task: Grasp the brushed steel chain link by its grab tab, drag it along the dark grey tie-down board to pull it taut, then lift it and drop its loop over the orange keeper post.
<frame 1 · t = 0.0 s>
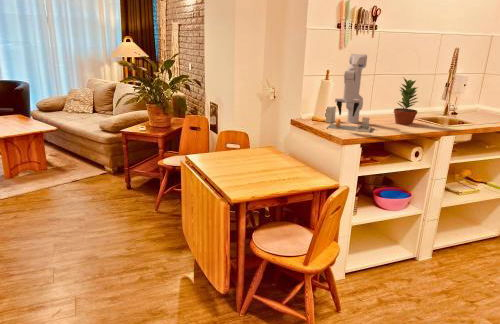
hand: (346, 115, 225), 10 cm above the countertop, tool pointing down, fingers open, 7 cm apart
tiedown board: (350, 129, 235), on the countertop
steel link: (363, 129, 232), point 1 cm above the countertop, touching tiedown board
potted plant: (404, 123, 256), on the countertop
small box: (327, 121, 257), on the countertop
keeper post: (337, 128, 238), resting on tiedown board
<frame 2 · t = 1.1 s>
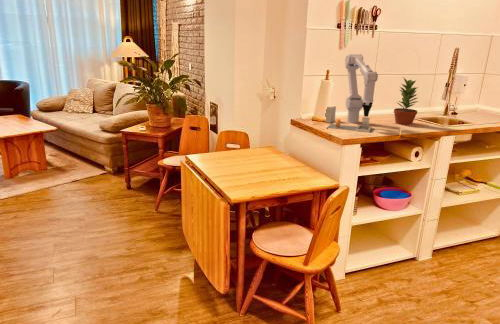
hand: (366, 115, 234), 9 cm above the countertop, tool pointing down, fingers open, 7 cm apart
nothing on the countertop moved.
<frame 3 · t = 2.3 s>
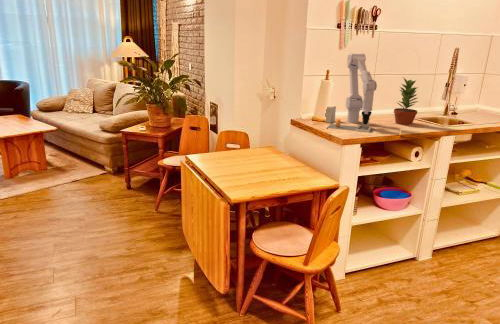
hand: (365, 123, 236), 3 cm above the countertop, tool pointing down, fingers closed on steel link, 2 cm apart
steel link: (363, 129, 232), point 1 cm above the countertop, touching gripper, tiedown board
everything else where it was.
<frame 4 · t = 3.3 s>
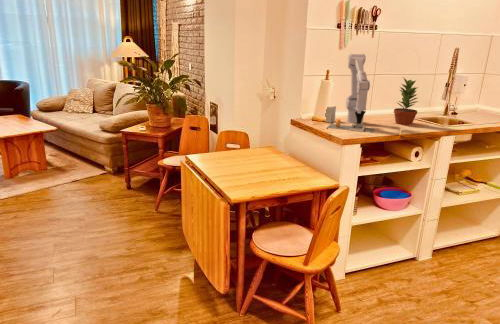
hand: (359, 123, 237), 3 cm above the countertop, tool pointing down, fingers closed on steel link
steel link: (357, 128, 233), point 1 cm above the countertop, touching gripper
everything else where it was.
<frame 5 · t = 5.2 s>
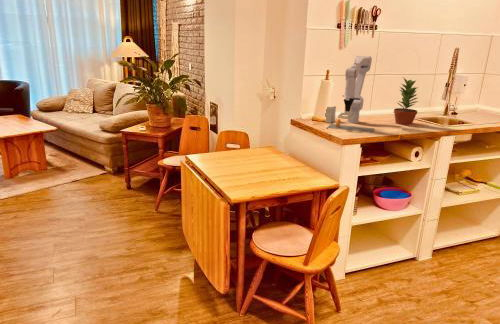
hand: (347, 110, 237), 10 cm above the countertop, tool pointing down, fingers closed on steel link
steel link: (346, 116, 233), point 8 cm above the countertop, touching gripper
everything else where it was.
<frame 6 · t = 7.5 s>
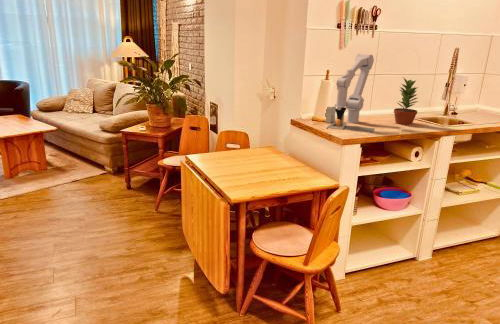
hand: (339, 119, 241), 4 cm above the countertop, tool pointing down, fingers open, 4 cm apart
steel link: (338, 126, 237), point 1 cm above the countertop, touching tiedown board
everything else where it was.
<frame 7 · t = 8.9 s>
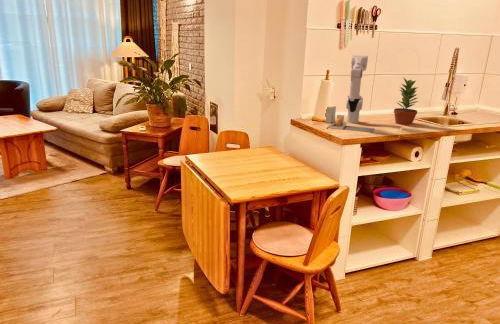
hand: (352, 111, 236), 10 cm above the countertop, tool pointing down, fingers open, 4 cm apart
nothing on the countertop moved.
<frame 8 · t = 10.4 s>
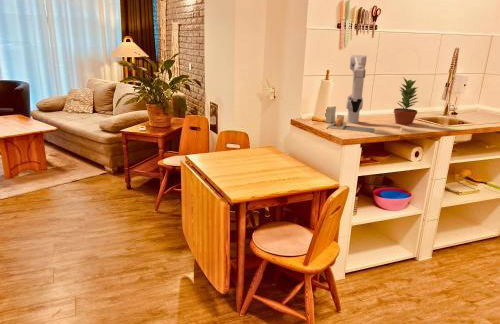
hand: (355, 111, 235), 10 cm above the countertop, tool pointing down, fingers open, 4 cm apart
nothing on the countertop moved.
at the end: steel link 0.2 cm from the keeper post (horizontally); steel link point 1.0 cm above the countertop; the gripper is holding nothing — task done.
